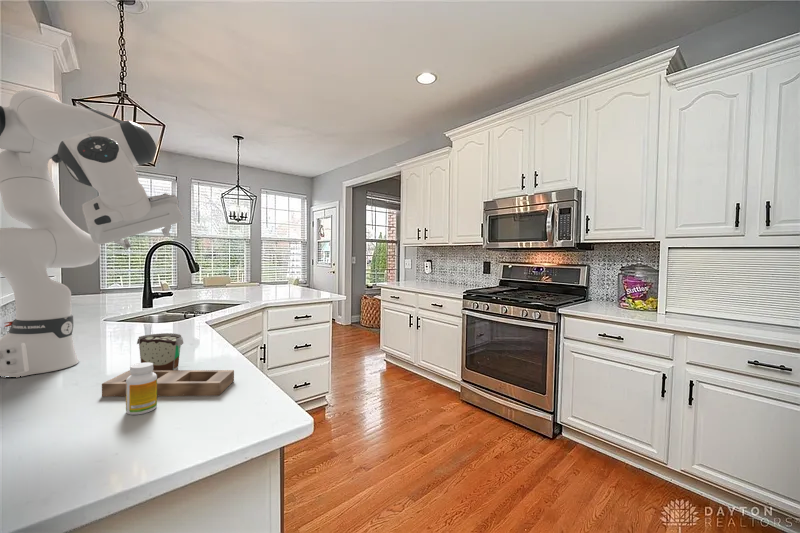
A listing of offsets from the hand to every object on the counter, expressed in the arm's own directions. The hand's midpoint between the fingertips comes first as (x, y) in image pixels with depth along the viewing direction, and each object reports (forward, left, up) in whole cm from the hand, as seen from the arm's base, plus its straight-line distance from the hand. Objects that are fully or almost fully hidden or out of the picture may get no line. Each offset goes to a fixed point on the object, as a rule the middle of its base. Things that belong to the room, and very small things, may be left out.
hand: (147, 240), depth 96 cm
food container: (+3, +3, -37) cm, 37 cm away
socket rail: (+12, -11, -37) cm, 40 cm away
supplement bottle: (+12, -23, -37) cm, 45 cm away
